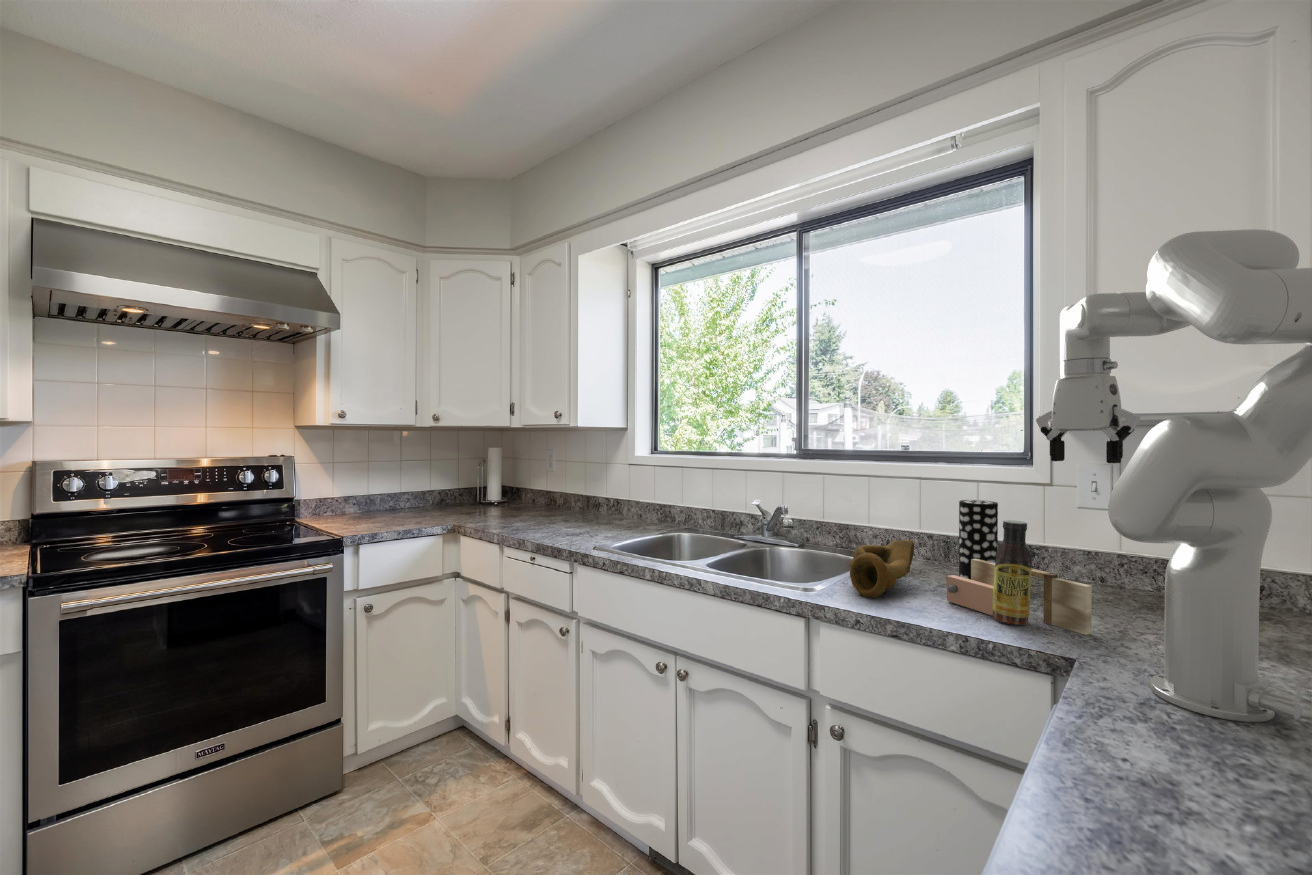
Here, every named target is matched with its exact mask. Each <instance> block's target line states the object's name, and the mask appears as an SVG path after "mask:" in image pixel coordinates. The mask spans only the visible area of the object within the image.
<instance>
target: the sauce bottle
mask: <svg viewBox="0 0 1312 875" xmlns="http://www.w3.org/2000/svg"><path fill="white" fill-rule="evenodd" d="M1002 528H1003V539H1002V543H1001V544H1000V545H999V546H998V550H997V552H996V562H995V569H994V587H993V607H992V609H993V616H992V617H993V620H996V621H998V622H1000V623H1002V624H1007V625H1013V626H1014V625H1015V626H1025V625H1026V624H1027V623H1028V622H1029V616H1030V606H1031V592H1032V591H1031V588H1032V587H1031V586H1032V576H1031V568H1032V554H1031V553H1030V551H1029V549H1028V547H1027V546H1026V544H1027V542H1026V534H1027V533H1026V532H1027V530H1028V523H1027V522H1026V521H1021V520H1012V519H1007V520H1003V521H1002Z"/></svg>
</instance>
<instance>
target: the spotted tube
mask: <svg viewBox="0 0 1312 875" xmlns="http://www.w3.org/2000/svg"><path fill="white" fill-rule="evenodd" d="M958 514H959V515H958V529H959V530H958V576H959V577H963V578H967V579H970V580H971V559H979V560H984V561H988V562H992V563H995V562H996V552H997V550H998V549H999V546H998V545H999V544H998V542H999V535H998V534H999V526H998V525H999V503H998V502H997V501H990V500H982V499H962V500H959V501H958Z"/></svg>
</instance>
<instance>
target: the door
mask: <svg viewBox="0 0 1312 875" xmlns="http://www.w3.org/2000/svg"><path fill="white" fill-rule="evenodd" d="M993 587H994V586H992V585H989V584H985V583H981V582H978V581H974V580H970V579H967V578H963V577H959V575H957V574H955V575H954V574H951V575H946V601H947V602H949V603H953V604H956V605H959V606H962V607H965V608H968V609H971V610H974V611H976V612H980V613H982V614H986V615H989V616H991V617H993V609H992V607H993Z"/></svg>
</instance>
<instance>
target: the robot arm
mask: <svg viewBox="0 0 1312 875" xmlns="http://www.w3.org/2000/svg"><path fill="white" fill-rule="evenodd" d="M1299 261H1300V251H1299V248H1298V246H1297V244H1296V243H1295V242H1294V241H1293V239H1291V238H1290V237H1288V235H1285V234H1283V233H1280V232H1277V231H1273V230H1270V229H1255V228H1253V229H1231V230H1229V229H1228V230H1226V229H1225V230H1210V231H1209V230H1208V231H1204V230H1203V231H1192V232H1185V233H1182V234H1179V235H1177V236H1175V237H1172V238H1171V239H1169V240H1167V241H1166V242H1165V243H1163V244H1162V245H1161V246H1160V247H1159V248H1158V249H1157V250H1156V251H1155V253H1154V254H1153V255H1152V258H1151V259H1150V261H1149V263H1148V267H1147V283H1146V287H1145V292H1144V291H1140V292H1139V291H1135V292H1133V291H1132V292H1131V291H1128V292H1107V293H1106V292H1105V293H1093V294H1090V295H1086V296H1084V297H1083V298H1082V299H1081V300H1079V301H1078V302H1077V303H1075V304H1071V305H1068V306H1066V307H1064V308H1063V309H1062V310H1061V312H1060V315H1059V362H1060V363H1059V376H1060V377H1059V379H1056V382H1055V385H1054V390H1053V396H1052V405H1051V410H1050V411H1048V412H1046V413H1044V414H1043V415H1041V416H1039V417H1037V418H1036V419H1035V422H1036V424H1037V426H1038V427H1039V430H1040V432H1041V434H1043V435H1044V436H1045V437H1046V440H1047V441H1049V456H1050V461H1051V462H1064V461H1065V456H1066V455H1065V452H1066V450H1065V448H1066V446H1065V445H1066V444H1065V441H1064V440H1062V439H1063V437H1065V435H1066V434H1067V433H1068V432H1070V431H1071V432H1072V431H1074V432H1075V431H1077V432H1078V431H1084V432H1085V431H1091V432H1092V431H1093V432H1095V431H1101V432H1103V433H1104V434H1105V435H1106V436H1107V437H1108V438H1109V440H1107V441H1106V444H1105V445H1106V446H1105V447H1106V453H1105V455H1106V456H1105V457H1106V463H1107V464H1121V463H1122V459H1123V457H1124V450H1123V449H1124V448H1123V447H1124V443H1123V442H1124V441H1126V440H1127V438H1128V437H1129V436H1130V435H1131V434H1133V432H1134V431H1135V428H1136V427H1137V425H1138V424H1139V422H1140V420H1141V416H1140V415H1139V414H1137V413H1133V412H1132V411H1129V410H1126V409H1124V408H1122V402H1121V401H1122V400H1121V393H1120V390H1119V384H1118V381H1117V378H1116V375H1111V373H1112V370H1115V369H1118V367H1119V364H1118V361H1116V360H1114V361H1113V360H1112V359H1111V338H1115V337H1116V338H1119V337H1120V338H1121V337H1122V338H1123V337H1125V338H1126V337H1127V338H1128V337H1153V336H1158V335H1164V334H1167V333H1171V332H1173V331H1177V330H1181V329H1184V328H1188V327H1190V326H1193V327H1194V328H1195V329H1196V330H1197V331H1199V332H1200V333H1201V334H1203V335H1205V336H1206V337H1208V338H1209V339H1211V340H1215V341H1217V342H1220V343H1224V344H1230V345H1245V346H1246V345H1247V346H1248V345H1281V344H1283V345H1284V344H1287V345H1291V344H1292V345H1293V344H1305V346H1304V347H1303V348H1301V349H1300V350H1299V351H1297V352H1296V353H1294V354H1293V355H1291V356H1289V357H1287V358H1285V359H1283V360H1282V361H1281V362H1279V363H1278V364H1276V365H1274V366H1273V367H1271V368H1270V369H1269V370H1268V371H1266V372H1265V373H1264V374H1263V375H1261V376H1260V377H1259V379H1257V380H1256V381H1255V383H1253V385H1252V387H1251V388H1250V390H1248V393H1247V394H1246V396H1245V397H1244V398H1243V399H1242V400H1241V402H1239V404H1238V405H1236V407H1234V408H1233V409H1232V410H1229V411H1227V412H1223V413H1214V414H1213V413H1211V414H1209V413H1207V414H1202V413H1201V414H1198V413H1197V414H1185V415H1184V414H1182V415H1177V416H1172V417H1169V418H1166V419H1164V420H1162V421H1160V422H1159V423H1157V424H1156V425H1154V426H1153V427H1152V428H1151V429H1150V430H1149V431H1148V432H1147V433H1146V435H1145V436H1144V437H1143V438H1142V440H1141V442H1140V443H1139V445H1138V446H1137V448H1136V450H1135V452H1134V453H1133V454H1132V456H1131V458H1130V460H1129V461H1128V463H1127V465H1126V466H1125V467H1124V469H1123V471H1122V473H1121V474H1120V476H1119V477H1118V480H1117V481H1116V482H1115V484H1114V486H1113V488H1112V490H1111V493H1110V495H1109V499H1108V505H1107V509H1108V510H1107V511H1108V512H1107V513H1108V519H1109V521H1110V524H1111V525H1112V527H1113V528H1114V530H1115V531H1116V532H1117V533H1118V534H1120V535H1121V536H1122V537H1124V538H1126V539H1128V540H1130V541H1134V542H1137V543H1147V544H1148V543H1149V544H1151V543H1152V544H1174V545H1175V544H1176V545H1178V546H1177V547H1176V548H1175V550H1174V552H1173V553H1172V554H1171V555H1170V558H1169V560H1168V561H1167V565H1166V568H1165V576H1164V634H1163V635H1164V638H1163V639H1164V643H1163V645H1164V649H1163V650H1164V651H1163V652H1164V653H1163V654H1164V655H1163V673H1161V674H1155V675H1154V676H1153V675H1152V677H1151V678H1150V679H1149V686H1150V687H1149V688H1150V689H1151V691H1152V692H1153V693H1154V694H1155V695H1156V696H1158V697H1159V698H1161V699H1162V700H1164V701H1167V702H1168V703H1170V704H1173V705H1175V706H1178V707H1180V708H1183V709H1184V710H1185V709H1186V710H1189V711H1192V712H1195V713H1198V714H1203V715H1206V716H1208V717H1214V718H1218V719H1224V720H1229V721H1235V722H1245V723H1261V722H1267V721H1270V720H1273V719H1274V718H1275V716H1276V715H1275V714H1278V715H1280V716H1281V715H1282V716H1284V717H1287V718H1289V719H1294V720H1298V719H1299V718H1300V717H1301V713H1302V707H1301V704H1299V703H1298V702H1297V699H1296V698H1293V697H1290V696H1287V695H1284V694H1279V693H1276V692H1273V690H1271V688H1269V678H1265V677H1262V676H1259V648H1260V646H1259V640H1260V638H1259V636H1260V635H1259V634H1260V632H1259V631H1260V628H1259V627H1260V596H1261V595H1260V592H1261V590H1260V589H1261V588H1260V587H1261V568H1262V558H1263V554H1264V549H1265V545H1266V541H1267V539H1268V536H1269V535H1268V534H1269V532H1270V530H1271V524H1272V520H1273V519H1272V518H1273V510H1272V509H1273V508H1272V504H1271V501H1270V499H1269V498H1268V495H1267V494H1266V493H1265V491H1263V490H1262V489H1265V488H1266V489H1267V488H1273V487H1278V486H1280V485H1281V486H1282V485H1283V484H1286V483H1287V482H1289V481H1291V480H1292V479H1293V478H1294V477H1295V476H1296V475H1297V474H1298V473H1299V472H1300V471H1301V470H1302V469H1303V468H1304V467H1305V466H1306V465H1307V463H1308V462H1309V461H1310V460H1311V459H1312V267H1302V268H1301V267H1300V268H1298V265H1299ZM1123 419H1124V420H1125V422H1124V425H1123ZM1049 421H1051V426H1052V427H1050V425H1049Z"/></svg>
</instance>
